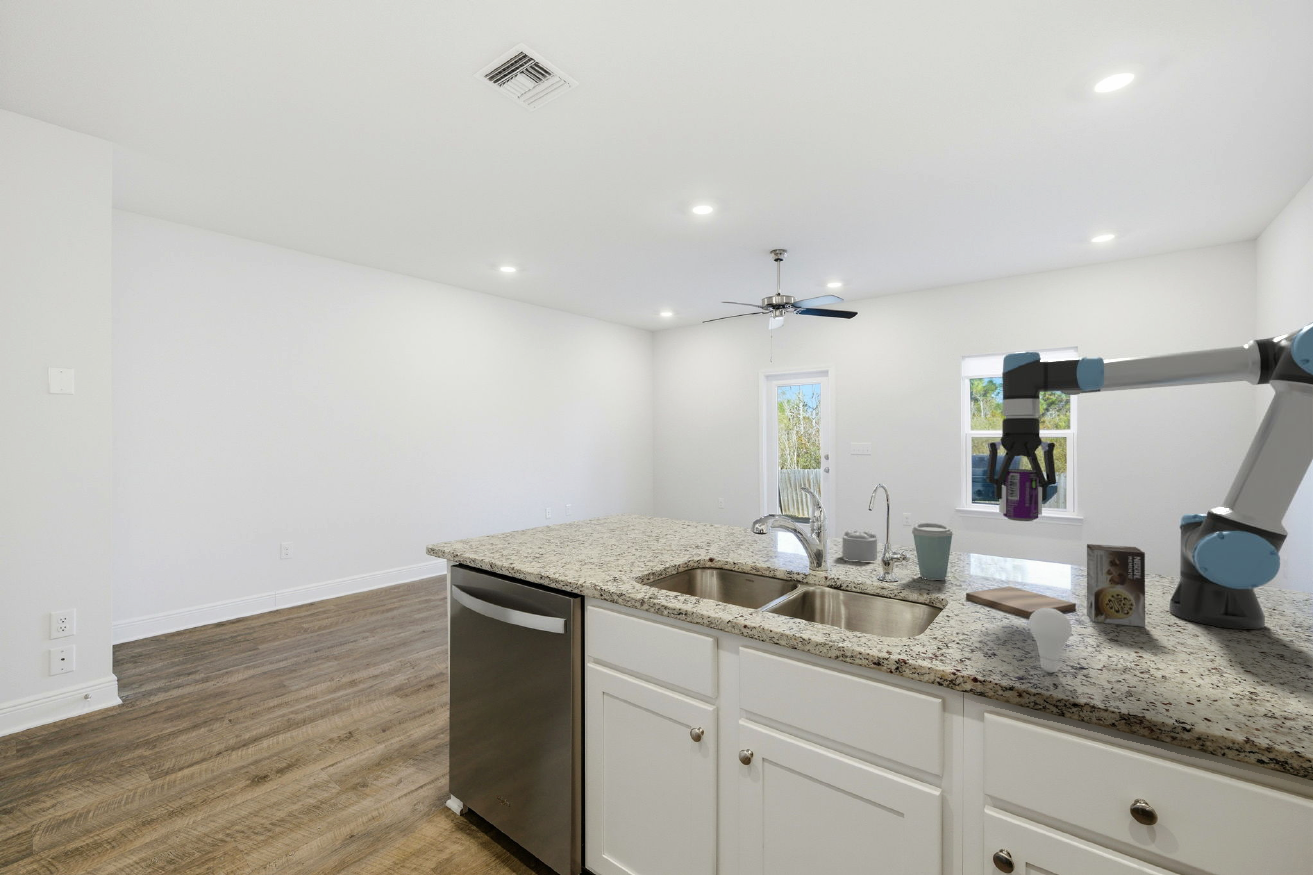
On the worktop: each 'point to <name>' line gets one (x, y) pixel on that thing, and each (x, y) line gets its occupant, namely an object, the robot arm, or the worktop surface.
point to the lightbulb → (1050, 635)
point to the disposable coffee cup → (932, 549)
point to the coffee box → (1116, 584)
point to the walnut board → (1018, 600)
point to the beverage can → (1021, 494)
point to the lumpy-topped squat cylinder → (859, 546)
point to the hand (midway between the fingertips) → (1020, 513)
